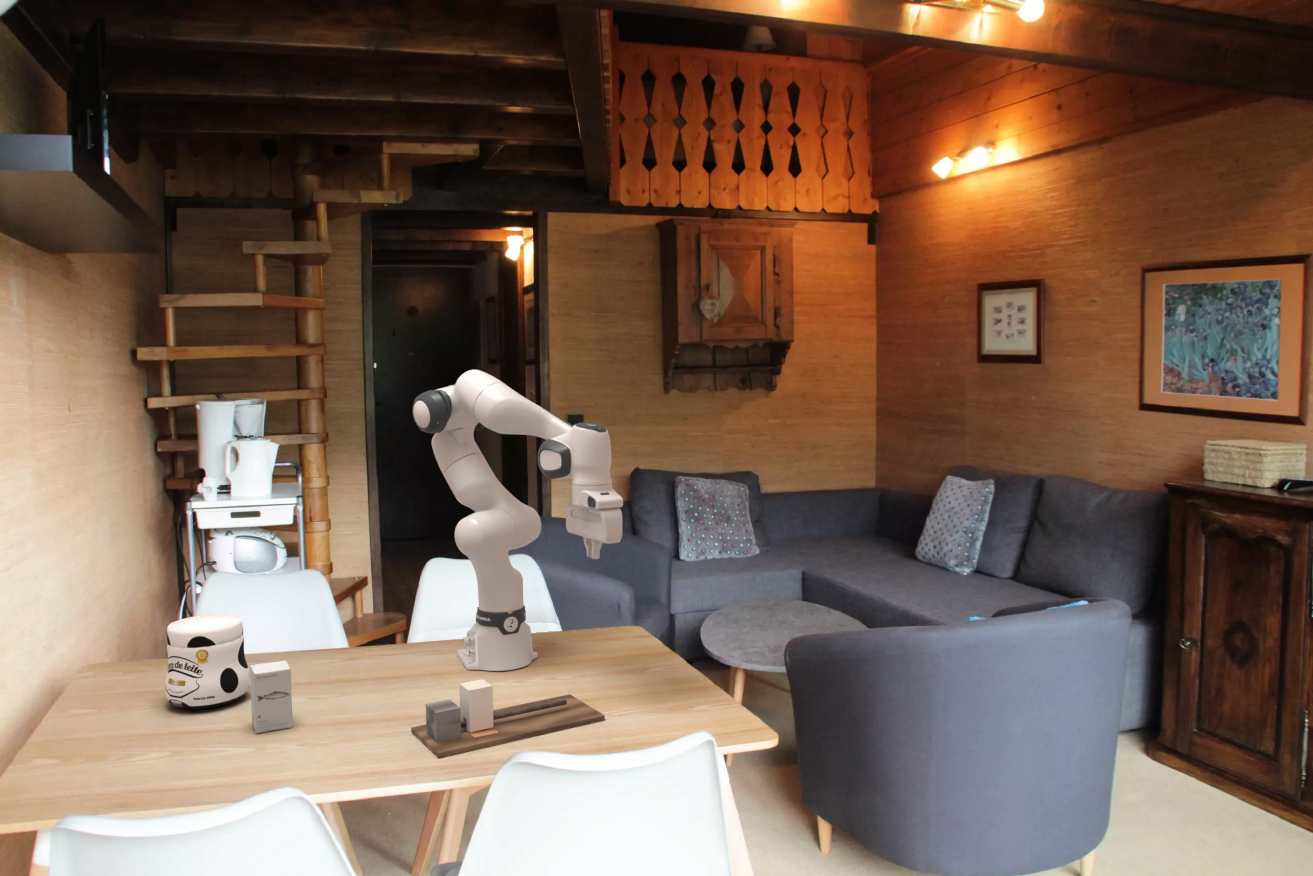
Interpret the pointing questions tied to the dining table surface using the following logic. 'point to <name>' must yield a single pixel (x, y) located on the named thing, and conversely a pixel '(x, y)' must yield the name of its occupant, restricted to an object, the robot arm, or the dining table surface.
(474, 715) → the cream sliding block
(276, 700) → the supplement box
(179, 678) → the milk container
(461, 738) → the wooden slider track base
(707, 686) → the dining table surface
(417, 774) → the dining table surface
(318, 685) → the dining table surface
